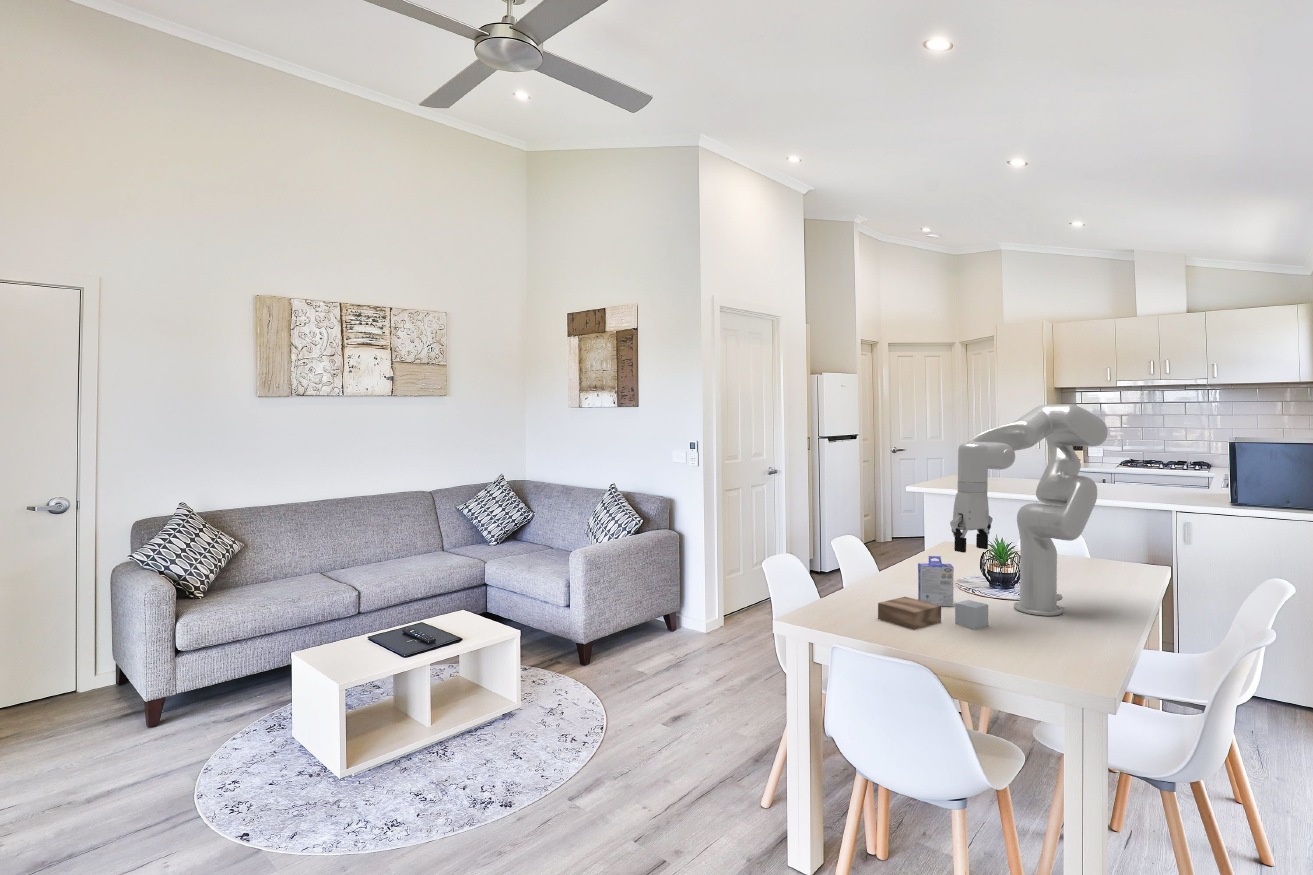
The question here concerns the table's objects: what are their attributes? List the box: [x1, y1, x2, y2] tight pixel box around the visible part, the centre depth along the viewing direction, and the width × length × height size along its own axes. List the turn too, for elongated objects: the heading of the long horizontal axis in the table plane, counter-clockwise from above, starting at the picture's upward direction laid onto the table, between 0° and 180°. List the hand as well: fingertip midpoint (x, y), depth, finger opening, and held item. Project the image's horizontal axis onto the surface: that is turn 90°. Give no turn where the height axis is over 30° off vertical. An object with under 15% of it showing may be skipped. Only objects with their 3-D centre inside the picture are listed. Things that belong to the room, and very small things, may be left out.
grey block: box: [954, 599, 989, 630], centre depth 194 cm, size 6×6×6 cm
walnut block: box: [877, 596, 942, 630], centre depth 199 cm, size 12×12×5 cm
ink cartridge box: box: [917, 555, 955, 607], centre depth 215 cm, size 10×6×14 cm, turn 79°
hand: (971, 550), depth 193 cm, fingers open, 9 cm apart
